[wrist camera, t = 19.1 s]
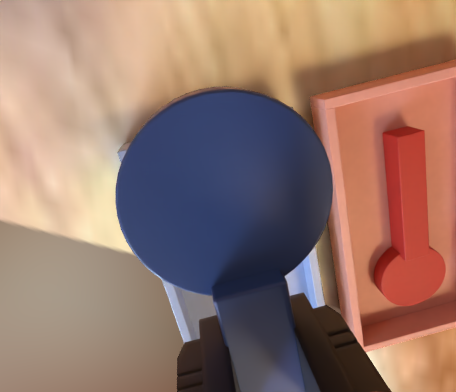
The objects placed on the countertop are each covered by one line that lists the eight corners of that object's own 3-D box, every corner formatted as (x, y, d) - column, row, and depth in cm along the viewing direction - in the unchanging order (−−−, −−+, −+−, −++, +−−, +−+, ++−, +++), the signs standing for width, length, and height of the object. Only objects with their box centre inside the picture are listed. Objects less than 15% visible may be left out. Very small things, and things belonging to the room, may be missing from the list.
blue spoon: (354, 447, 13) (379, 502, 11) (222, 485, 13) (228, 546, 11) (302, 64, 9) (331, 63, 7) (94, 113, 8) (72, 124, 7)
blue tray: (123, 143, 22) (116, 152, 20) (281, 103, 23) (293, 107, 20) (201, 371, 29) (203, 398, 27) (322, 338, 29) (334, 361, 27)
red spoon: (358, 138, 23) (372, 143, 22) (431, 119, 24) (450, 123, 22) (376, 304, 28) (388, 318, 27) (436, 287, 28) (452, 301, 27)
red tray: (309, 96, 23) (323, 99, 20) (461, 57, 23) (493, 56, 21) (343, 332, 29) (357, 354, 27) (461, 299, 30) (485, 319, 27)
